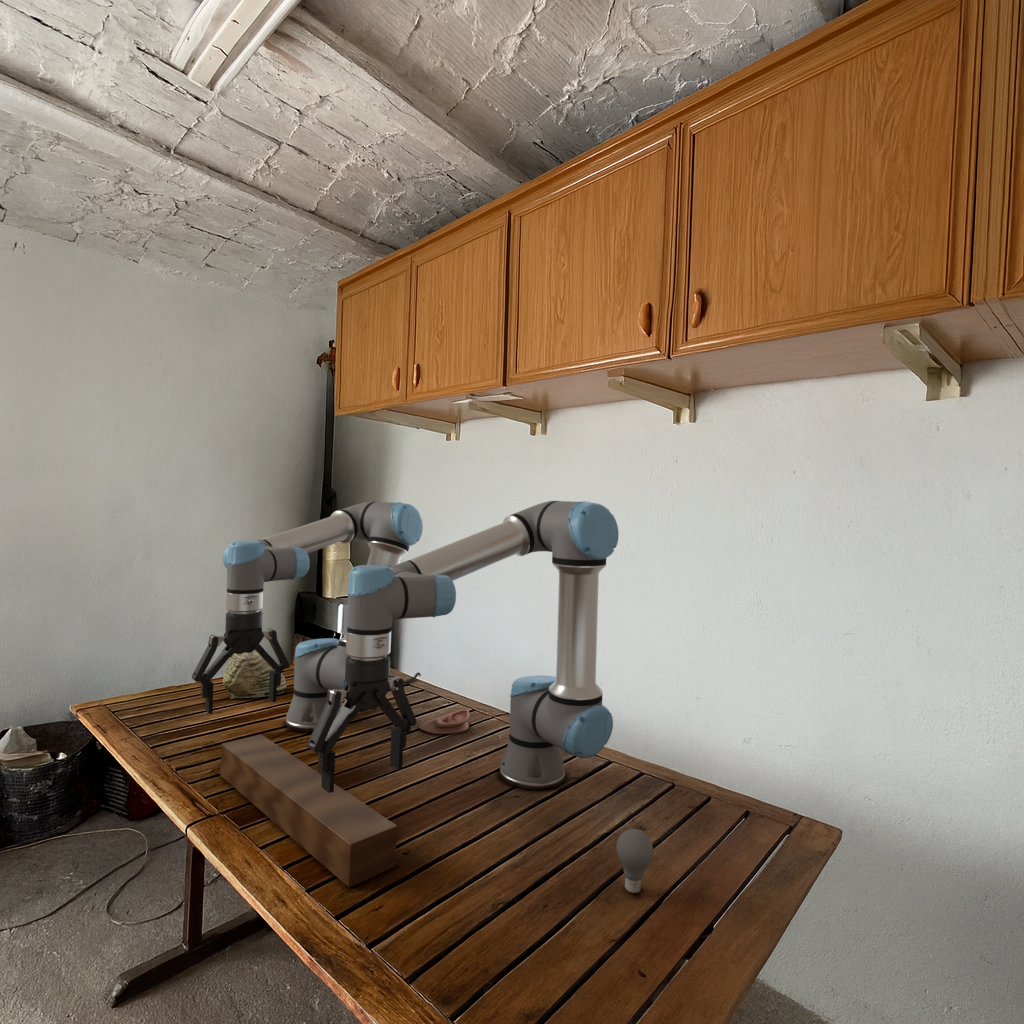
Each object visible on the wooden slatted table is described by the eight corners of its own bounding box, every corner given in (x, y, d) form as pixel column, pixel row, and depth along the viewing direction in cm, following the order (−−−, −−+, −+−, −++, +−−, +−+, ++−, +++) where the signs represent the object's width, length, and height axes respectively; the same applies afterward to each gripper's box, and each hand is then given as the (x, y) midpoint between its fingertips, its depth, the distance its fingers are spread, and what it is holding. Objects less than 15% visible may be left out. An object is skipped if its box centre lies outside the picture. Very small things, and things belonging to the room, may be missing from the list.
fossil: (218, 695, 195) (220, 647, 195) (278, 685, 208) (279, 640, 207) (228, 703, 189) (230, 653, 188) (289, 692, 201) (290, 645, 201)
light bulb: (610, 879, 108) (613, 822, 108) (644, 879, 109) (647, 822, 109) (619, 902, 102) (622, 840, 102) (655, 901, 103) (658, 840, 103)
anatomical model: (415, 716, 173) (429, 704, 184) (414, 731, 173) (428, 717, 184) (462, 722, 170) (473, 709, 181) (461, 737, 170) (472, 722, 181)
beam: (220, 775, 142) (221, 743, 142) (260, 764, 148) (261, 734, 148) (348, 887, 103) (350, 844, 103) (395, 866, 110) (397, 825, 110)
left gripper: (187, 619, 129) (184, 722, 130) (306, 608, 145) (303, 700, 146) (178, 613, 135) (175, 711, 135) (293, 603, 151) (290, 691, 151)
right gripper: (311, 672, 97) (306, 808, 98) (438, 649, 115) (433, 765, 116) (289, 661, 103) (284, 791, 103) (413, 642, 120) (409, 752, 121)
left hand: (241, 706), depth 141 cm, fingers open, 13 cm apart
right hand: (363, 778), depth 109 cm, fingers open, 13 cm apart
